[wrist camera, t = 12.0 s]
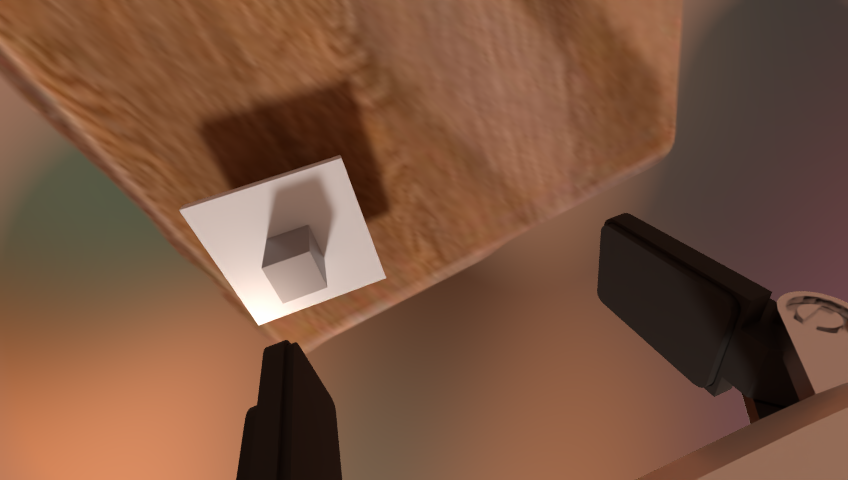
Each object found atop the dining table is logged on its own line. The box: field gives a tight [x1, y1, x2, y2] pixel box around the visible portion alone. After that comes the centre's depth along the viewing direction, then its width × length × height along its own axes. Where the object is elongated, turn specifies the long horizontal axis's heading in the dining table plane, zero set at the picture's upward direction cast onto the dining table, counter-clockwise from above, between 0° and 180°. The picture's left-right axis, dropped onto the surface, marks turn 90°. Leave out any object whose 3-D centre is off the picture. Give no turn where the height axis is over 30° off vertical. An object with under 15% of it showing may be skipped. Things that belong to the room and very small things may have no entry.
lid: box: [179, 155, 386, 325], centre depth 33 cm, size 14×14×6 cm
